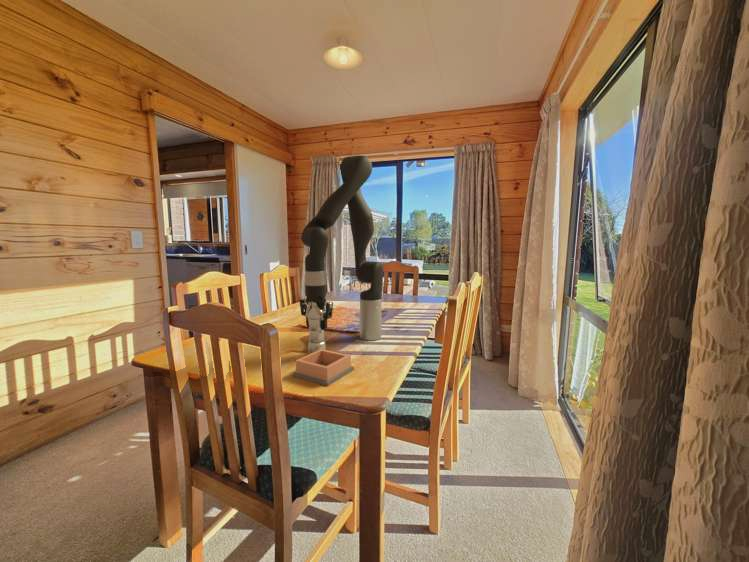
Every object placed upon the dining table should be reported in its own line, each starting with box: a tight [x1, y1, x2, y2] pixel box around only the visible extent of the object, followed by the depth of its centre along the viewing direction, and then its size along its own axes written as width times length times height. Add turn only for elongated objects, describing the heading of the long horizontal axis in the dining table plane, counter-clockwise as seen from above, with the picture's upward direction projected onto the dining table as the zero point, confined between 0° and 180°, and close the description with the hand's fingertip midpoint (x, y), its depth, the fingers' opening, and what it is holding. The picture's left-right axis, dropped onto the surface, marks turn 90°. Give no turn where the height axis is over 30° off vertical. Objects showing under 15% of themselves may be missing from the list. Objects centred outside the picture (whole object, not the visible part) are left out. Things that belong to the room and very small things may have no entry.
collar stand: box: [292, 349, 355, 387], centre depth 107 cm, size 14×14×5 cm
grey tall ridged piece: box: [307, 301, 327, 354], centre depth 121 cm, size 6×7×20 cm
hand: (316, 328), depth 121 cm, fingers closed on grey tall ridged piece, 6 cm apart
